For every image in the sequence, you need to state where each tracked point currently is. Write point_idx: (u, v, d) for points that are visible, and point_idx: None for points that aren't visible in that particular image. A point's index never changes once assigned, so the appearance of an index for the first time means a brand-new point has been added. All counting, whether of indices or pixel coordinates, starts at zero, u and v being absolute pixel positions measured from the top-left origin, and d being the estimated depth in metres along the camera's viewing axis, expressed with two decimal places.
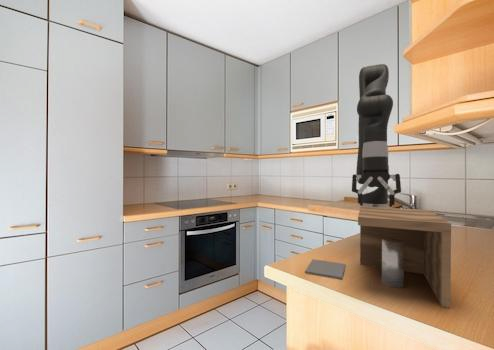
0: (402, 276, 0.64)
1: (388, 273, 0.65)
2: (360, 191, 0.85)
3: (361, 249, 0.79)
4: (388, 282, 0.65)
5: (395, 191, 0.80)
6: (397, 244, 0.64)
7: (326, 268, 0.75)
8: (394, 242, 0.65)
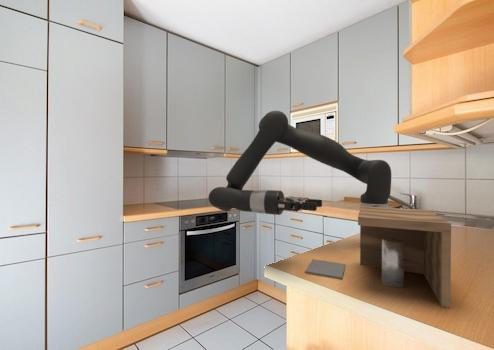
0: (402, 276, 0.64)
1: (388, 273, 0.65)
2: None
3: (361, 249, 0.79)
4: (388, 282, 0.65)
5: None
6: (397, 244, 0.64)
7: (326, 268, 0.75)
8: (394, 242, 0.65)
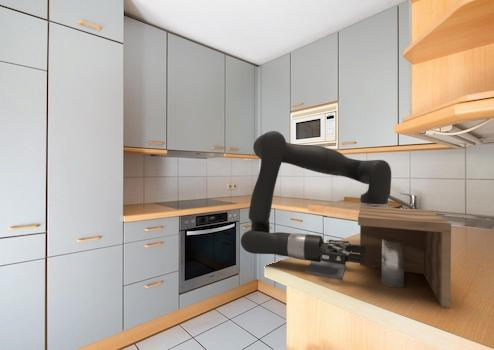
0: (402, 276, 0.64)
1: (388, 273, 0.65)
2: None
3: None
4: (388, 282, 0.65)
5: None
6: (397, 244, 0.64)
7: (326, 268, 0.75)
8: (394, 242, 0.65)
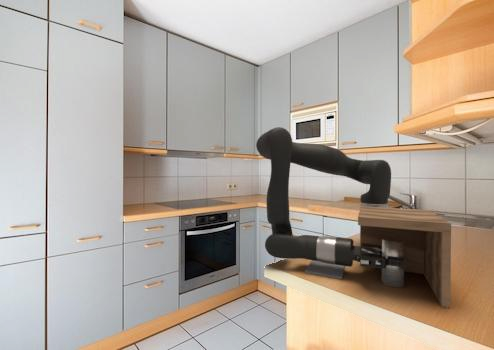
0: (402, 276, 0.64)
1: (388, 273, 0.65)
2: None
3: None
4: (388, 282, 0.65)
5: None
6: (397, 244, 0.64)
7: (326, 268, 0.75)
8: (394, 242, 0.65)
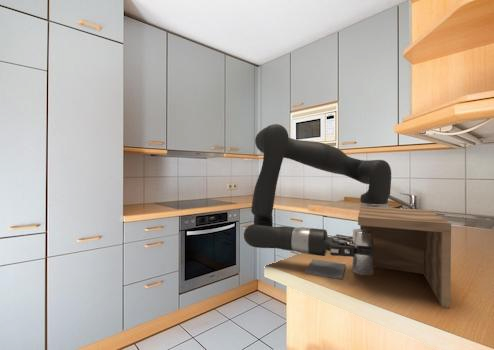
0: (371, 264, 0.67)
1: (357, 262, 0.68)
2: None
3: None
4: (357, 270, 0.68)
5: None
6: (366, 234, 0.67)
7: (326, 268, 0.75)
8: (363, 232, 0.68)
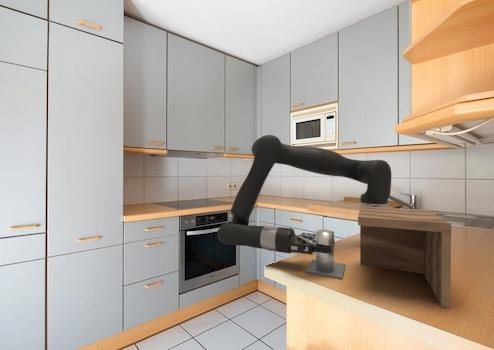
0: (331, 263, 0.72)
1: (319, 261, 0.72)
2: None
3: (361, 249, 0.79)
4: (319, 269, 0.72)
5: None
6: (326, 234, 0.71)
7: None
8: (324, 233, 0.72)
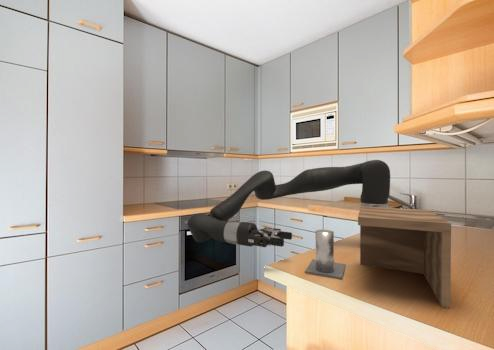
0: (331, 263, 0.72)
1: (319, 261, 0.72)
2: None
3: (361, 249, 0.79)
4: (319, 269, 0.72)
5: None
6: (326, 234, 0.71)
7: None
8: (324, 232, 0.72)
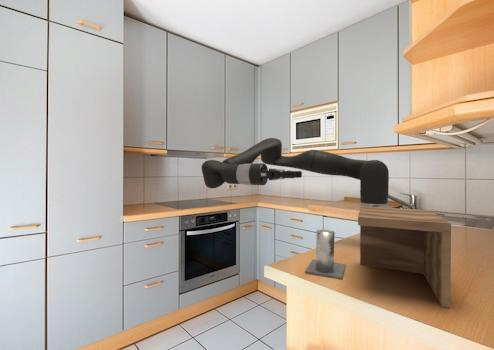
0: (331, 263, 0.72)
1: (319, 260, 0.72)
2: None
3: (361, 249, 0.79)
4: (319, 268, 0.72)
5: None
6: (327, 234, 0.71)
7: None
8: (325, 232, 0.72)
